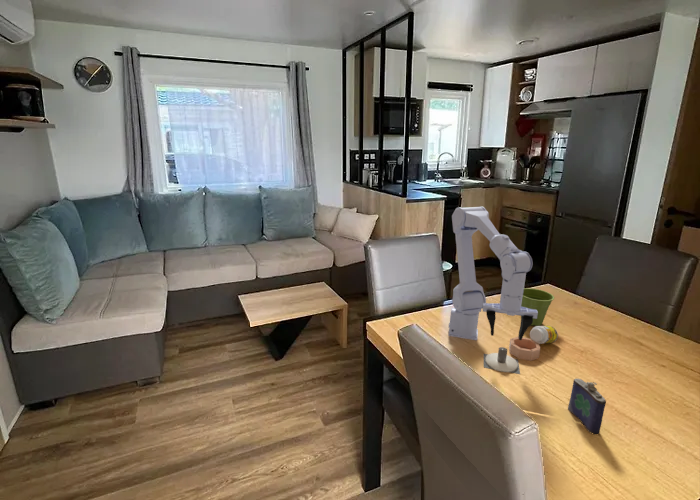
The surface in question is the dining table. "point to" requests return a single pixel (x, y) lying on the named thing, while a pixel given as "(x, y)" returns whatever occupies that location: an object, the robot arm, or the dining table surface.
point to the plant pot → (537, 303)
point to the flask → (587, 405)
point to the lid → (501, 361)
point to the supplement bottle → (543, 334)
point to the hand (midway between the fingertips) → (505, 336)
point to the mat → (494, 369)
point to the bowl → (524, 348)
